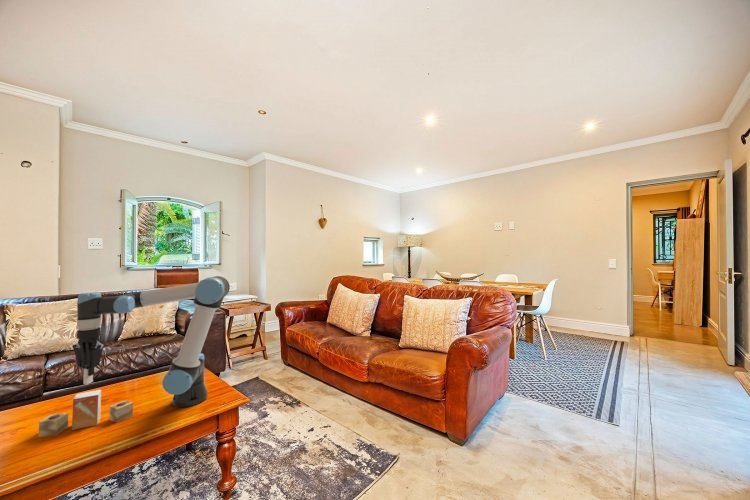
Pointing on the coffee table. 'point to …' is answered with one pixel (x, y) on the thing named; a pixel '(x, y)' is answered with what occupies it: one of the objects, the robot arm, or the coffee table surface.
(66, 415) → the marked block
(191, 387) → the robot arm
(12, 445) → the coffee table surface
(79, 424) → the small box
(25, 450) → the coffee table surface
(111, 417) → the marked block
